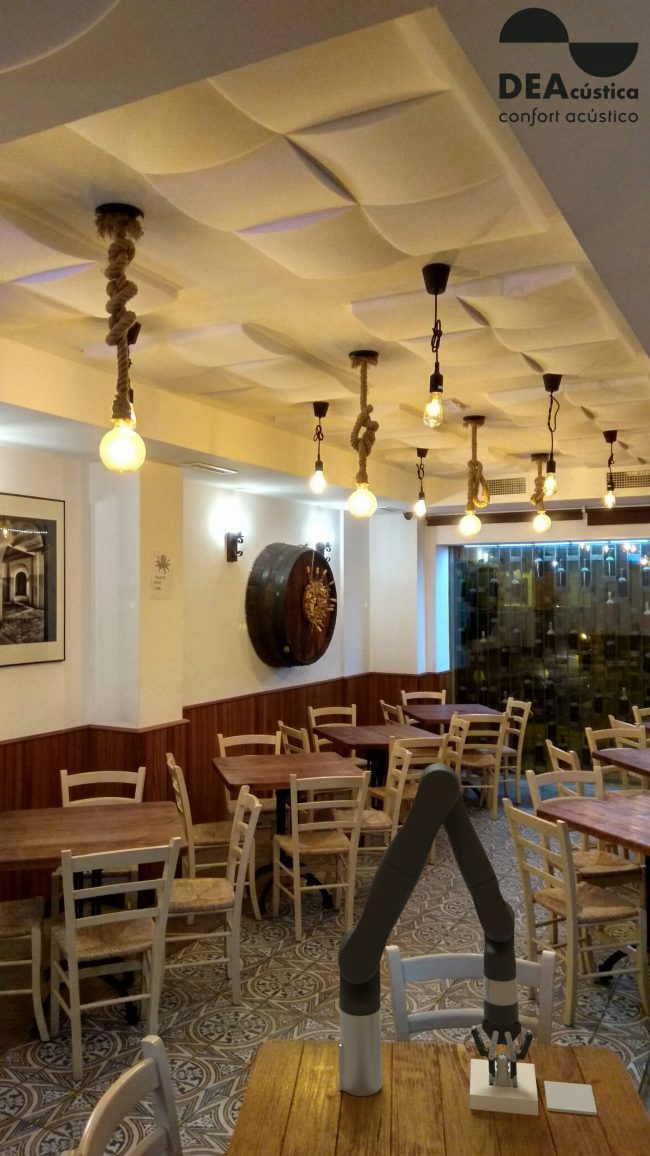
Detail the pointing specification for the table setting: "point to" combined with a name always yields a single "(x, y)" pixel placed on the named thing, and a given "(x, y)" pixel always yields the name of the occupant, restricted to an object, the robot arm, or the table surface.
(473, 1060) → the pocket holder
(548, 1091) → the grey mat
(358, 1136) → the table surface
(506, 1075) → the rook chess piece
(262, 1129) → the table surface
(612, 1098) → the table surface
